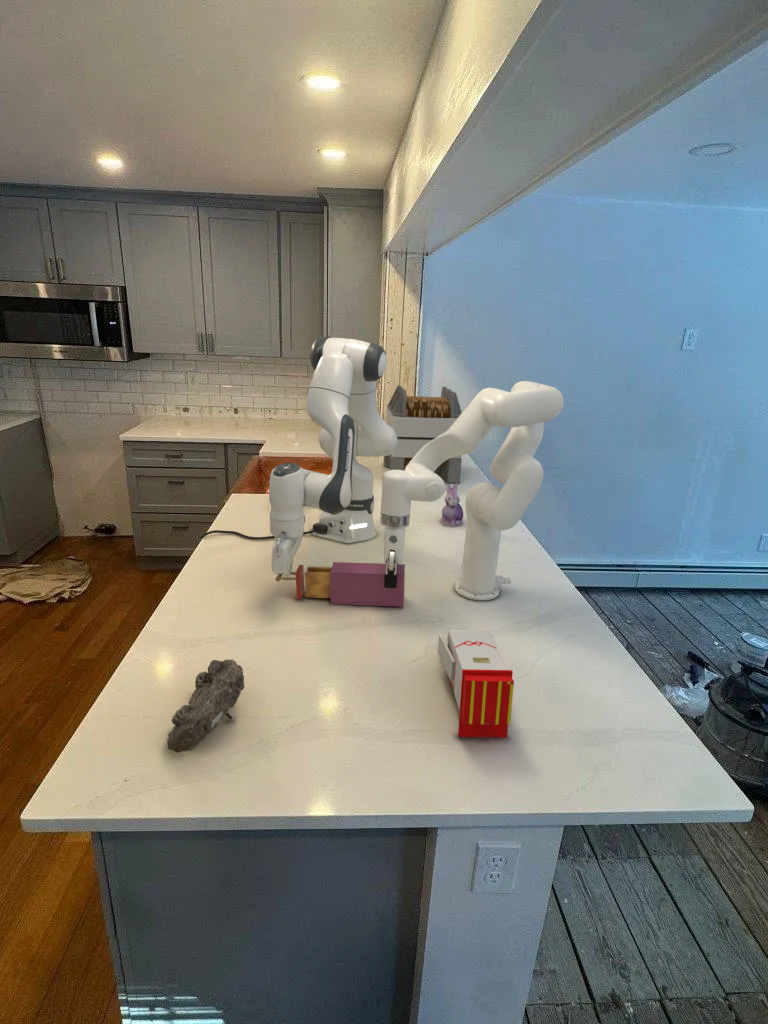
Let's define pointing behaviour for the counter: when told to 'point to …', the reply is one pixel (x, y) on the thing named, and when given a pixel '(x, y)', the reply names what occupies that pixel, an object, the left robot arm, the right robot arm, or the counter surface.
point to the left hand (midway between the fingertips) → (287, 573)
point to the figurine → (452, 507)
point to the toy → (478, 682)
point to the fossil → (206, 705)
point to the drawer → (310, 581)
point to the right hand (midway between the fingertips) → (390, 580)
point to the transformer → (422, 427)
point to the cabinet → (365, 584)
